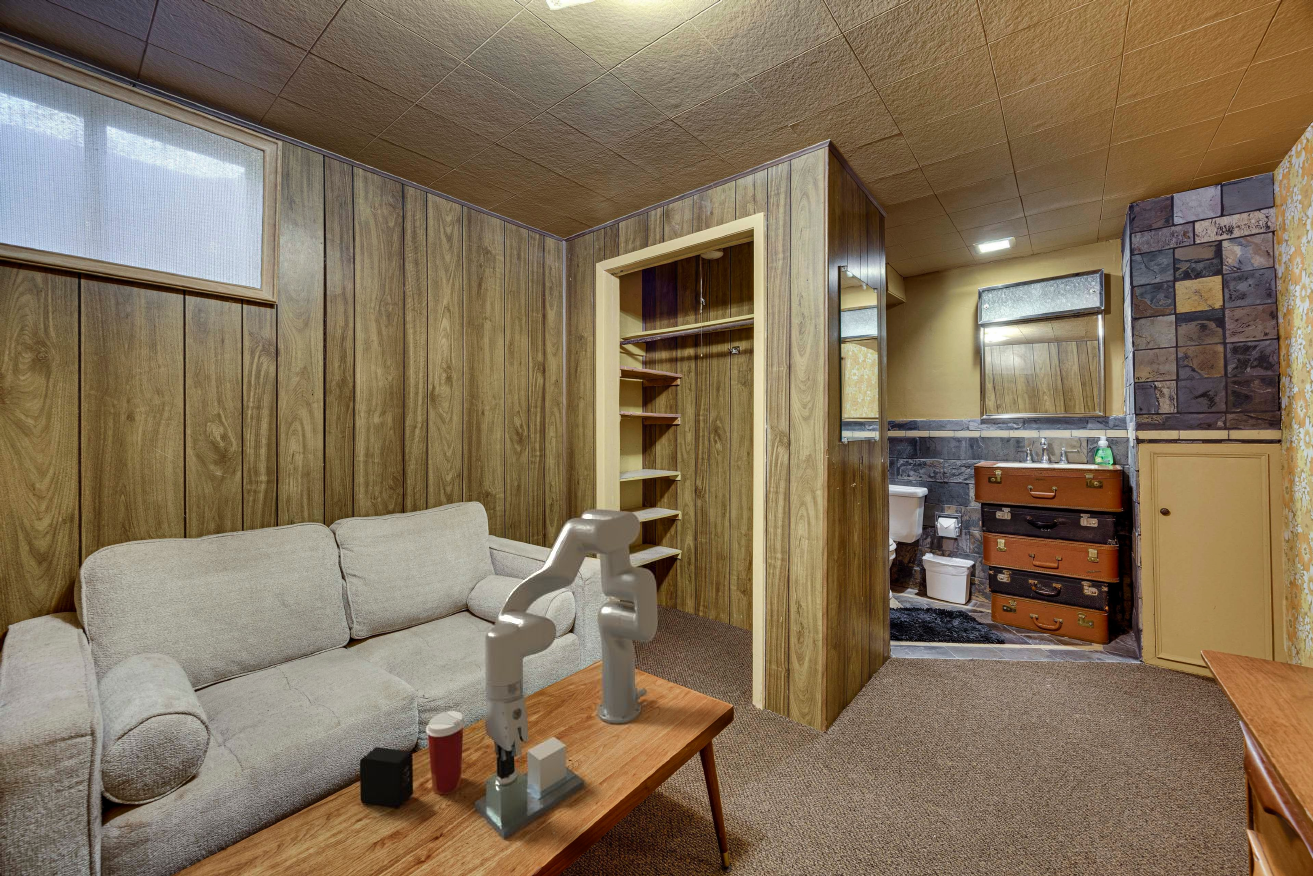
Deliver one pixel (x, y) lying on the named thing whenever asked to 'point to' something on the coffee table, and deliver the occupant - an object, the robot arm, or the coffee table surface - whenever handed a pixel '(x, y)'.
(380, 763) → the electronic device
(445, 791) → the coffee cup
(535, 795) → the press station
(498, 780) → the pin
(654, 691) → the coffee table surface
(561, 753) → the block
